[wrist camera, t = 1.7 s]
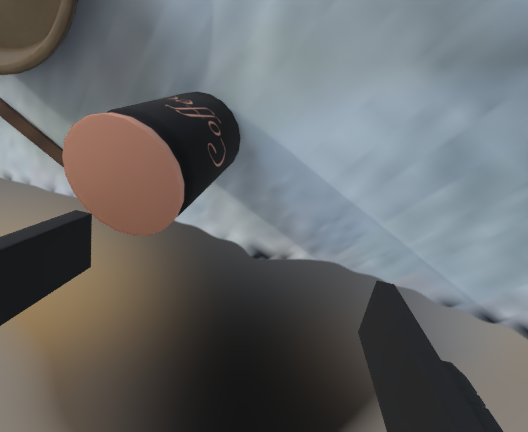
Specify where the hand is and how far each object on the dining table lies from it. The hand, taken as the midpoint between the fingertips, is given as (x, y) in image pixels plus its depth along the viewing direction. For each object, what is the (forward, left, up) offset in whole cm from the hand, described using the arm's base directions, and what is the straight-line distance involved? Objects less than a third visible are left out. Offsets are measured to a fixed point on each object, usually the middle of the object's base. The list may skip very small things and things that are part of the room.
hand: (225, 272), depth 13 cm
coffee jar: (+8, -9, -28) cm, 30 cm away
